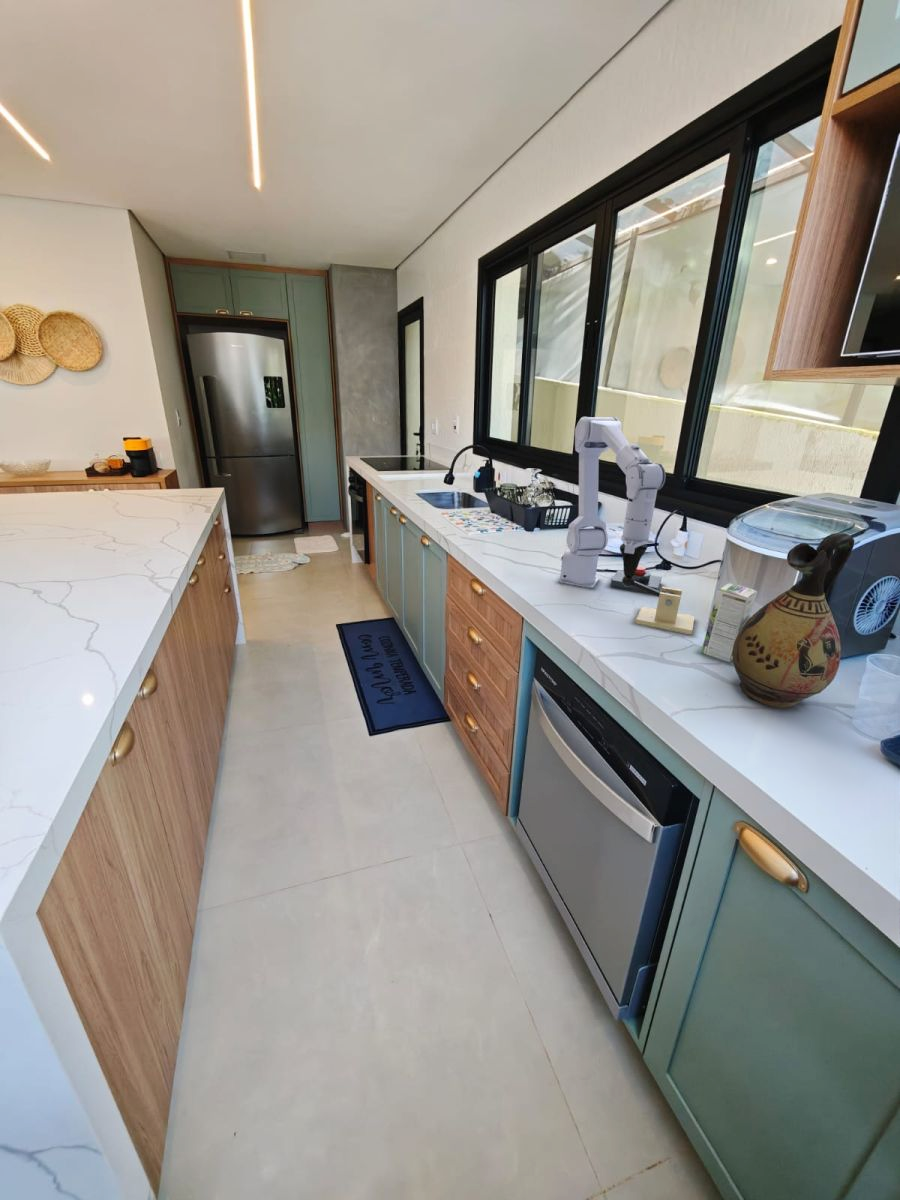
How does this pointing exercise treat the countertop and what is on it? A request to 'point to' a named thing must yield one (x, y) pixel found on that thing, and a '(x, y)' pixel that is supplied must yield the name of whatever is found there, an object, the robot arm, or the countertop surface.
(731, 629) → the syrup box
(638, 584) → the lever
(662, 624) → the cream lever stand
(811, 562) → the ceramic jug
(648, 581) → the block
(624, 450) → the robot arm
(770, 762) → the countertop surface
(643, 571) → the button
